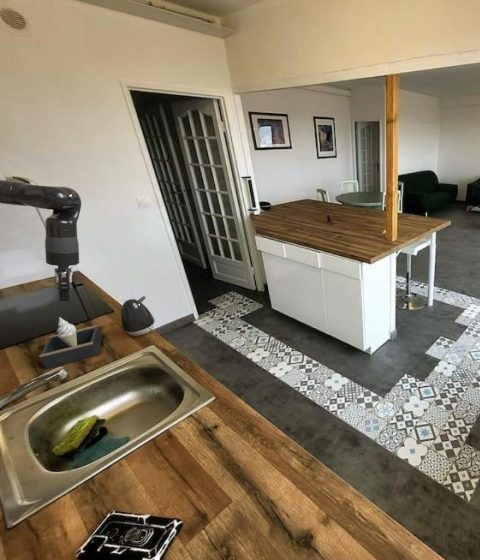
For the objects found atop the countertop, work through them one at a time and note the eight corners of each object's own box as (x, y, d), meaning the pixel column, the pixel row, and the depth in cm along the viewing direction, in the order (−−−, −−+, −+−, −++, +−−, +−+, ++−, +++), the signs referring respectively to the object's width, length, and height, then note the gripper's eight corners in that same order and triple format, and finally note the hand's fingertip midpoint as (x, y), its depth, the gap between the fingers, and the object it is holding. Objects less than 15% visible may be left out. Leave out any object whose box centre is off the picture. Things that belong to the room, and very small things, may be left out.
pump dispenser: (163, 328, 130) (152, 296, 123) (136, 342, 121) (122, 308, 115) (148, 322, 134) (136, 291, 127) (121, 335, 125) (107, 302, 119)
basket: (46, 368, 107) (39, 356, 105) (55, 347, 117) (49, 336, 115) (97, 354, 114) (91, 343, 112) (102, 336, 124) (97, 325, 122)
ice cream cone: (87, 349, 116) (71, 315, 110) (70, 357, 113) (51, 322, 106) (82, 345, 119) (65, 311, 112) (64, 352, 115) (46, 318, 108)
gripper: (45, 244, 102) (48, 291, 106) (44, 254, 93) (47, 304, 96) (77, 245, 108) (79, 289, 111) (79, 254, 98) (81, 302, 102)
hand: (64, 296), depth 104 cm, fingers open, 8 cm apart
